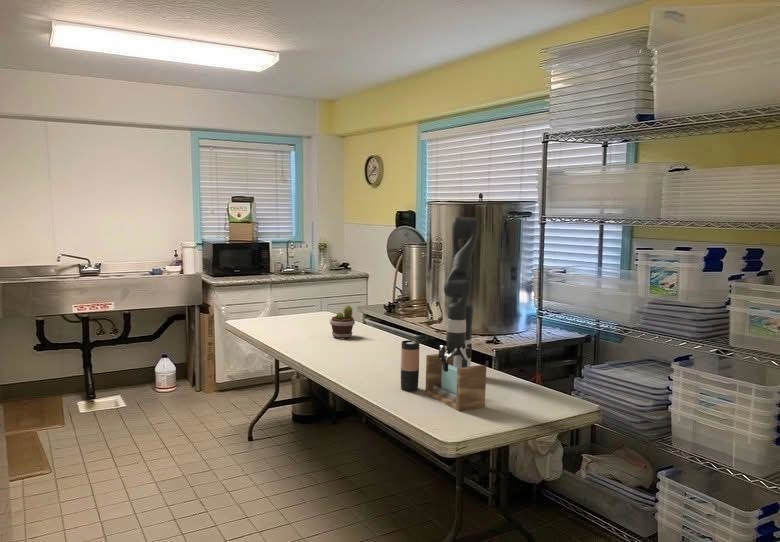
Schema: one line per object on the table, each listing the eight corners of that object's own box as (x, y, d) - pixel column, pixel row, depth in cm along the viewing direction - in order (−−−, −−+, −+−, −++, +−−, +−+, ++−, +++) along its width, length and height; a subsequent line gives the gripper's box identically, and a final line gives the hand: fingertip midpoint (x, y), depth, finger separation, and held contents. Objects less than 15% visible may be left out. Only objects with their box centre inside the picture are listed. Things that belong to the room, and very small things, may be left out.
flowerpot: (328, 339, 339) (328, 305, 337) (331, 334, 354) (332, 301, 352) (353, 340, 338) (353, 306, 336) (355, 335, 354) (356, 302, 352)
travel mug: (403, 392, 242) (404, 344, 240) (397, 386, 250) (399, 340, 248) (420, 391, 245) (422, 343, 243) (415, 385, 252) (416, 339, 250)
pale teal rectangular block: (441, 391, 239) (441, 365, 238) (448, 390, 241) (449, 364, 240) (460, 401, 227) (461, 374, 226) (468, 400, 228) (469, 373, 227)
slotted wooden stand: (425, 393, 241) (426, 355, 240) (449, 389, 247) (451, 352, 246) (459, 411, 220) (460, 369, 219) (484, 406, 226) (486, 366, 225)
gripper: (465, 326, 238) (464, 365, 239) (435, 329, 231) (434, 369, 233) (476, 330, 231) (475, 370, 233) (446, 333, 224) (444, 374, 226)
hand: (454, 370), depth 233 cm, fingers open, 8 cm apart
